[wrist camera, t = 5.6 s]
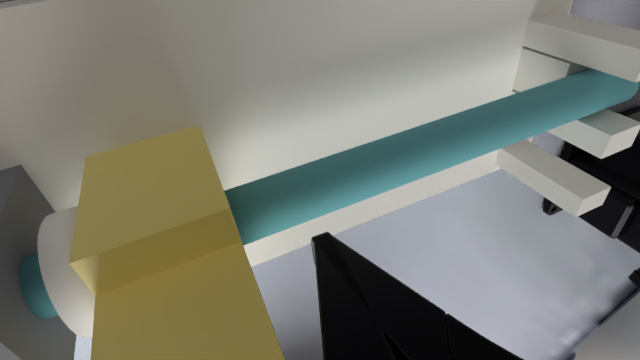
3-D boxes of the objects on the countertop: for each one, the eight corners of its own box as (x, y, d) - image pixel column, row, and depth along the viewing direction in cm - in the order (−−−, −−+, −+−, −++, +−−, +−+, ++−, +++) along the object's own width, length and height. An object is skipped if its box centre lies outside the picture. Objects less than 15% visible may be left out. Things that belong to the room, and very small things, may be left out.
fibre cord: (560, 16, 15) (702, 49, 12) (537, 96, 17) (650, 146, 14) (-85, 193, 10) (-217, 373, 6) (3, 280, 12) (-52, 451, 8)
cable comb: (576, -97, 14) (767, -102, 10) (512, 149, 21) (609, 207, 16) (-214, 39, 8) (-577, 175, 4) (59, 322, 15) (34, 481, 11)
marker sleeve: (199, 124, 10) (280, 344, 5) (233, 224, 13) (313, 444, 8) (85, 156, 10) (40, 454, 4) (145, 257, 12) (162, 527, 7)
